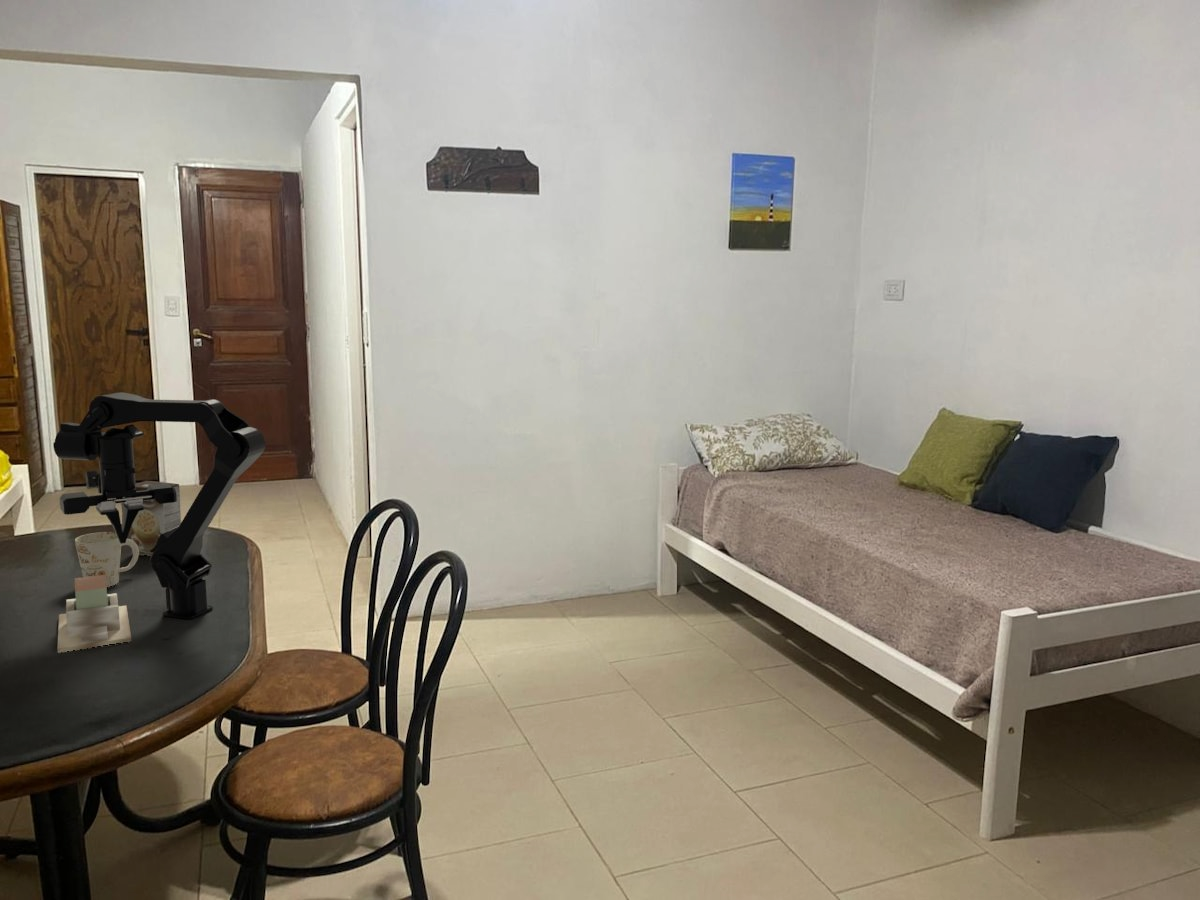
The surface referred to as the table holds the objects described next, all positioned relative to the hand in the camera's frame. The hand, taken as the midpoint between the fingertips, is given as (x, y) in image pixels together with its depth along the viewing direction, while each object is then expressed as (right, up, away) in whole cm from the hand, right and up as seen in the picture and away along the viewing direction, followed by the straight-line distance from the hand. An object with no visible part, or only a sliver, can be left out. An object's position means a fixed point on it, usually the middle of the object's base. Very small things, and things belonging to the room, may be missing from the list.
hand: (122, 542), depth 172 cm
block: (-1, -13, -9) cm, 16 cm away
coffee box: (-12, -6, +38) cm, 41 cm away
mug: (-11, -10, +18) cm, 23 cm away
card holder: (-1, -15, -8) cm, 17 cm away
